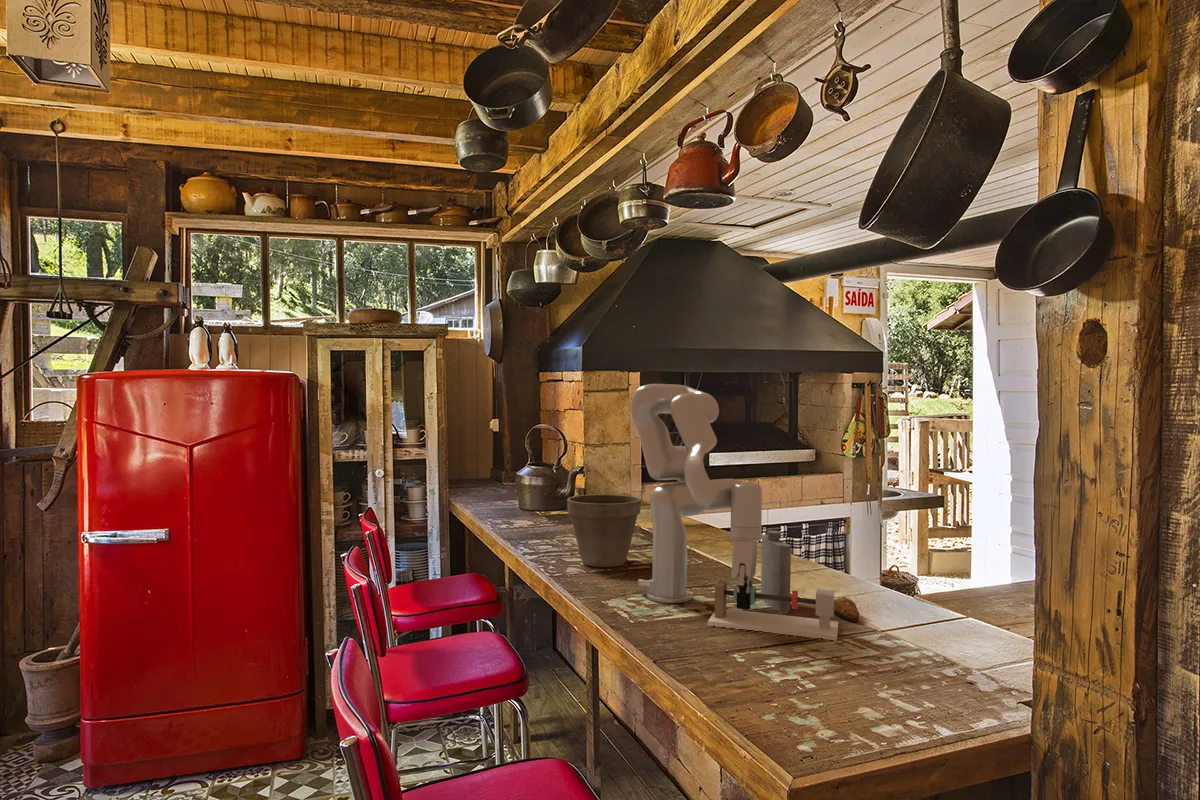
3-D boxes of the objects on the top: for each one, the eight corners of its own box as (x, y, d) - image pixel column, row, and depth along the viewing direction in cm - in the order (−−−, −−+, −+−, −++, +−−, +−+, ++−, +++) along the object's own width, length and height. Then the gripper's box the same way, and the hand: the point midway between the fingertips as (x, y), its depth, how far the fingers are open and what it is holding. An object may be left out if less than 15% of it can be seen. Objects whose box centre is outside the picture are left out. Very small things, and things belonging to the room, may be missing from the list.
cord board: (707, 625, 178) (708, 587, 178) (716, 612, 189) (717, 575, 189) (836, 641, 168) (837, 600, 168) (838, 626, 179) (838, 587, 179)
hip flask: (791, 613, 189) (792, 536, 189) (776, 613, 189) (777, 536, 189) (770, 596, 205) (771, 525, 205) (756, 596, 205) (757, 525, 204)
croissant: (820, 608, 194) (820, 590, 194) (844, 608, 195) (845, 589, 195) (842, 624, 181) (843, 604, 181) (868, 623, 182) (869, 604, 182)
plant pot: (555, 557, 250) (556, 494, 250) (619, 552, 260) (620, 491, 260) (584, 574, 227) (585, 505, 227) (653, 567, 238) (654, 501, 238)
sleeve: (733, 602, 180) (733, 588, 180) (735, 598, 183) (736, 584, 183) (753, 604, 178) (754, 590, 178) (755, 600, 182) (756, 586, 181)
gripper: (735, 526, 190) (734, 596, 190) (724, 537, 174) (723, 613, 174) (765, 528, 187) (764, 599, 187) (756, 539, 171) (755, 617, 172)
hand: (744, 605), depth 181 cm, fingers closed on sleeve, 3 cm apart
